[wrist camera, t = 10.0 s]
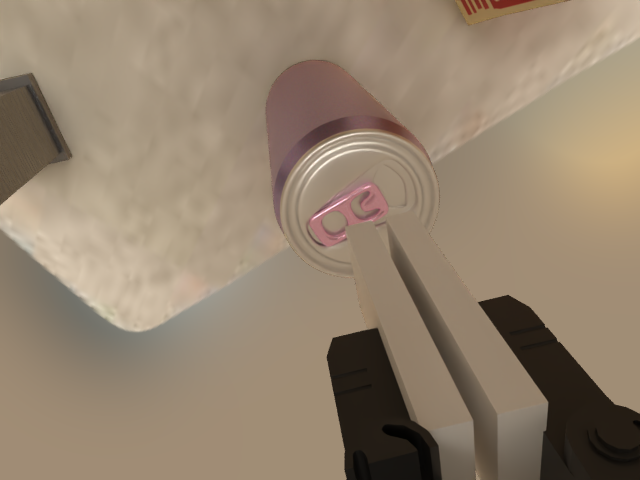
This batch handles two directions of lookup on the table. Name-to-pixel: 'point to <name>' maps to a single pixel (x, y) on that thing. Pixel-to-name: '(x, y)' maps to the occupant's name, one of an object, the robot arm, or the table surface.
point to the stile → (26, 134)
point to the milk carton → (497, 8)
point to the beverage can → (340, 164)
